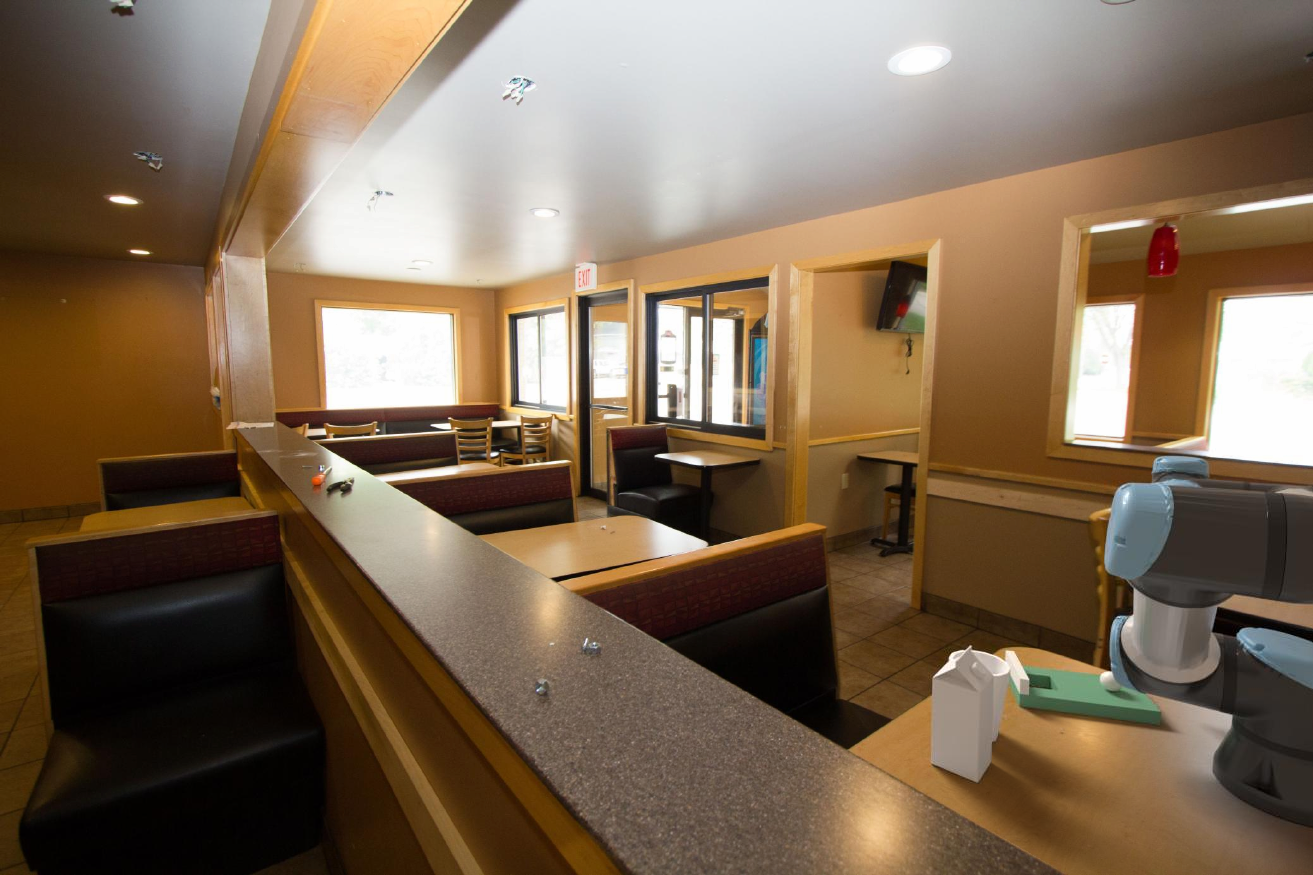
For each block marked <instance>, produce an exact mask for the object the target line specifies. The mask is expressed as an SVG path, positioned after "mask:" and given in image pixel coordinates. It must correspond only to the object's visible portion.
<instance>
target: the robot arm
mask: <svg viewBox="0 0 1313 875" xmlns="http://www.w3.org/2000/svg"><path fill="white" fill-rule="evenodd" d="M1209 472H1210V465H1209V462H1208V461H1207V460H1206V459H1203V458H1201V457H1200V458H1199V457H1194V456H1183V455H1181V456H1180V455H1164V456H1163V455H1162V456H1159V457H1156V458H1155V459H1154V461H1153V466H1152V471H1151V476H1152V477H1151V482H1150V483H1145V482H1143V483H1142V482H1128V483H1125V484H1122V485H1121V486H1120V487H1118V488H1117V489H1116V491H1115V493H1114V495H1113V496H1114V497H1113V499H1112V502H1111V507H1110V516H1109V520H1108V524H1107V529H1106V537H1105V539H1106V540H1105V546H1104V547H1105V549H1104V557H1103V558H1104V561H1103V563H1104V566H1105V568H1104V569H1105V570H1106V572H1107V573H1108V574H1110V575H1112V576H1115V577H1119V578H1121V579H1122V580H1126V581H1127V582H1128V584H1129V585H1130V586H1131V587H1132V588H1133V614H1132V615H1118V616H1116V617H1115V618H1114V620H1113V622H1112V624H1111V628H1110V629H1111V630H1110V639H1109V658H1110V669H1111V672H1112V674H1113V677H1114V679H1115V680H1116V682H1117V683H1118V684H1120V685H1121V686H1123V687H1126V688H1129V689H1132V690H1135V691H1137V692H1139V693H1142V694H1146V695H1147V694H1148V695H1151V696H1156V697H1159V698H1164V699H1168V700H1173V701H1176V702H1180V703H1184V704H1188V705H1191V706H1196V707H1200V708H1203V709H1208V710H1211V711H1217V712H1220V713H1222V714H1223V713H1224V714H1227V715H1230V716H1232V717H1231V726H1230V728H1229V730H1228V731H1227V733H1226V734H1225V736H1224V737H1223V739H1222V741H1221V742H1220V743H1219V746H1218V748H1217V749H1216V750H1215V752H1214V754H1213V758H1212V773H1213V775H1214V778H1215V779H1216V780H1217V781H1218V782H1219V783H1220V784H1221V785H1222V786H1223V787H1224V788H1225V789H1226V790H1227V791H1229V792H1230V793H1231V794H1233V795H1234V796H1236V797H1237V798H1239V799H1241V800H1242V801H1244V802H1246V803H1247V804H1250V805H1252V806H1253V807H1255V808H1257V809H1259V810H1261V811H1263V812H1265V813H1269V814H1271V815H1274V816H1276V817H1279V818H1281V819H1284V820H1287V821H1291V822H1294V823H1297V824H1301V825H1305V826H1309V827H1313V642H1312V641H1311V640H1307V639H1304V638H1301V637H1299V636H1295V635H1292V634H1289V633H1286V632H1281V631H1279V630H1278V631H1277V630H1275V629H1274V630H1273V629H1268V628H1262V627H1258V628H1256V627H1255V628H1254V627H1244V628H1241V629H1240V630H1239V632H1237V633H1236V636H1231V635H1226V634H1223V633H1217V632H1213V628H1214V623H1215V619H1216V614H1217V611H1218V610H1217V609H1218V606H1219V605H1222V604H1223V603H1226V602H1227V601H1228V600H1230V599H1231V598H1232V597H1234V596H1241V597H1242V596H1243V597H1249V598H1254V599H1255V598H1256V599H1260V600H1267V601H1273V602H1278V603H1279V602H1281V603H1286V604H1293V605H1294V604H1295V605H1298V604H1299V605H1313V485H1308V486H1307V485H1294V484H1278V483H1263V482H1262V483H1260V482H1259V483H1258V482H1249V481H1235V480H1234V481H1233V480H1221V479H1210V474H1209Z"/></svg>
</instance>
